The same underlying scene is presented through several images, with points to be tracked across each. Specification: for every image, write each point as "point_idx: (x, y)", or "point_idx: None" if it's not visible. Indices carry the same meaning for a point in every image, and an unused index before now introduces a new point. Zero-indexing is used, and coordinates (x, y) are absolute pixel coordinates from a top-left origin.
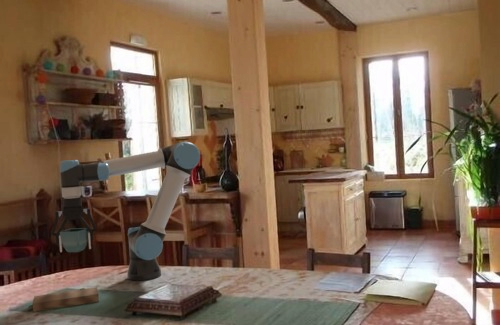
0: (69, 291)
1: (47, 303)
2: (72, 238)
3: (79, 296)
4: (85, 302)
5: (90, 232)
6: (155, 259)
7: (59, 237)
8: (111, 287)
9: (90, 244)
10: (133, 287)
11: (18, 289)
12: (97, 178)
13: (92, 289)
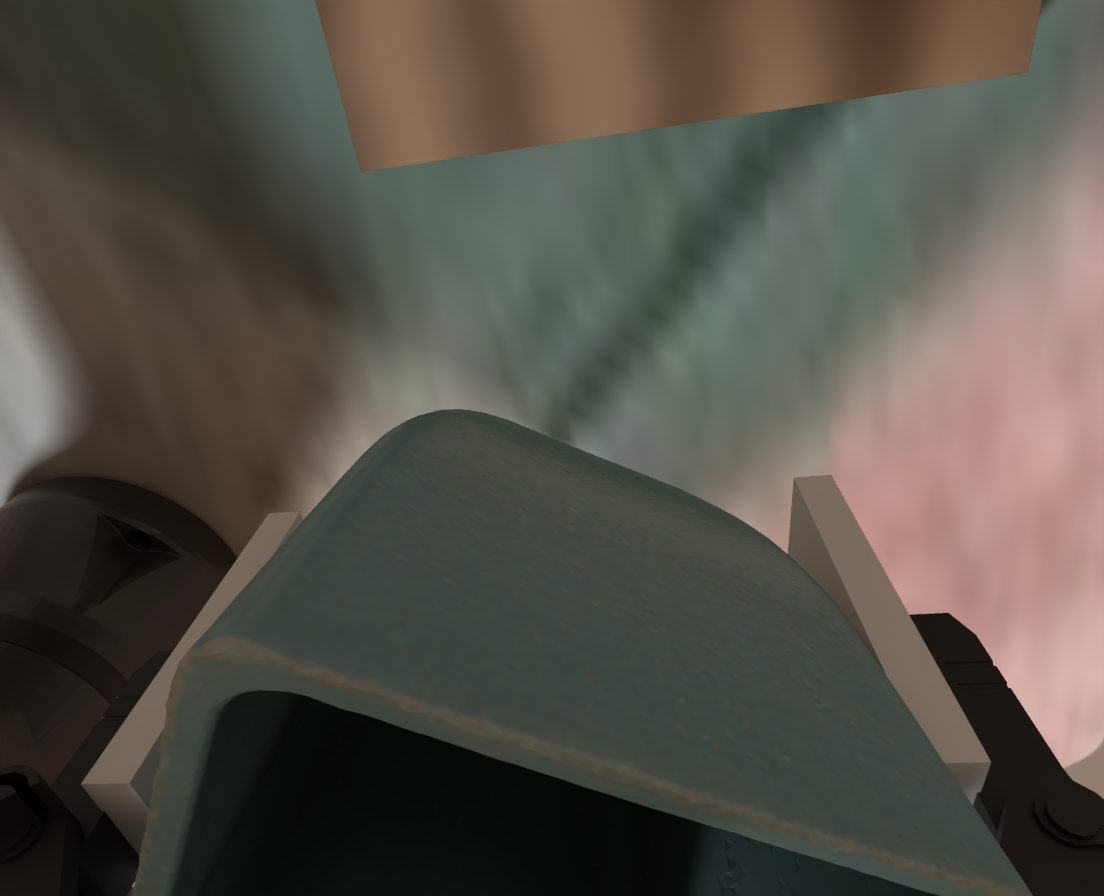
0: (639, 111)
1: None
2: (544, 557)
3: None
4: None
5: (54, 811)
6: None
7: (957, 732)
8: (308, 372)
9: (235, 567)
10: (92, 278)
11: (1033, 638)
12: None
13: (386, 76)
